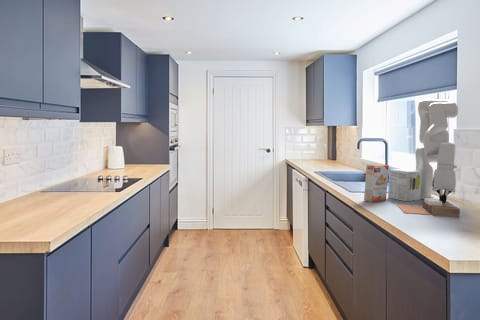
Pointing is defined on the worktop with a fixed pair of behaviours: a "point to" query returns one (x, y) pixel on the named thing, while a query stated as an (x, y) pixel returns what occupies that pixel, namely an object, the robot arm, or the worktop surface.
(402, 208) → the rubber mat
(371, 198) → the cracker box
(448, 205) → the walnut block
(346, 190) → the worktop surface
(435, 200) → the ceramic tile
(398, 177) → the supplement box
